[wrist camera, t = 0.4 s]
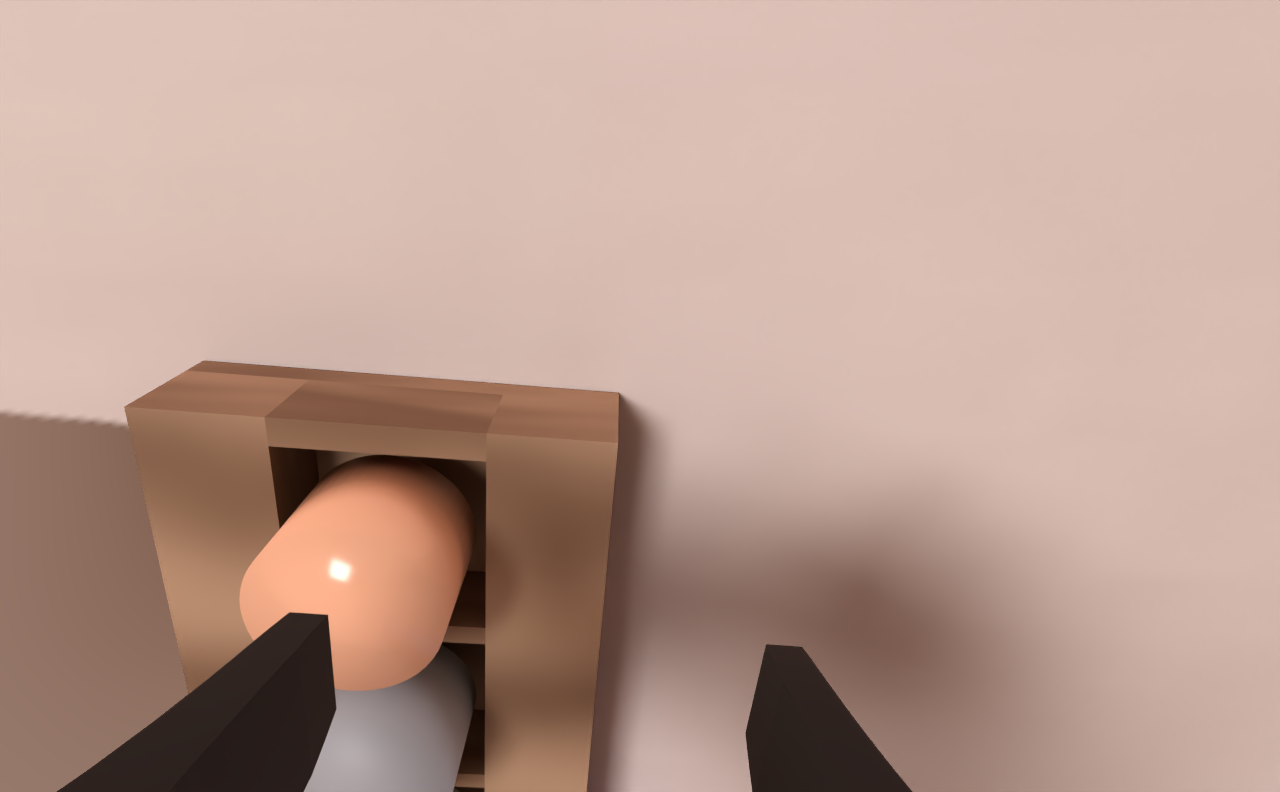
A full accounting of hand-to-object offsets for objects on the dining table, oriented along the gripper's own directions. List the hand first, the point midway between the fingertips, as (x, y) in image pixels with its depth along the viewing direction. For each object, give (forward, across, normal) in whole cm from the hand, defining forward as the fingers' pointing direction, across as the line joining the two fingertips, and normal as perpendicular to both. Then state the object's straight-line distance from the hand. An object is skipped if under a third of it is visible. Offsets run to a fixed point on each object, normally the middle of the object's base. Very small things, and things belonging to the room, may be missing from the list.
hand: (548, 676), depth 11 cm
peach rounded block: (+7, +5, +2) cm, 9 cm away
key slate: (+7, +5, +9) cm, 12 cm away
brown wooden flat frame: (+10, +5, +8) cm, 14 cm away
